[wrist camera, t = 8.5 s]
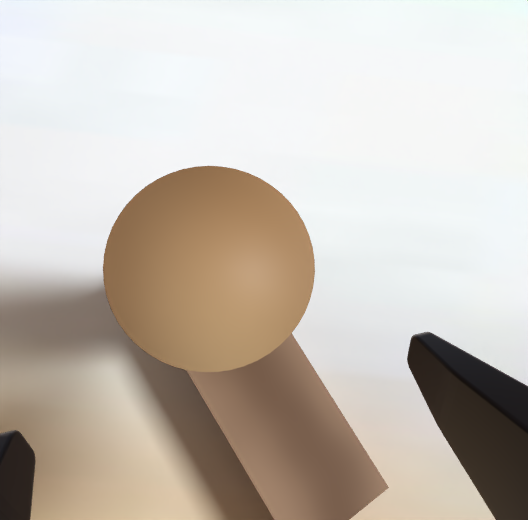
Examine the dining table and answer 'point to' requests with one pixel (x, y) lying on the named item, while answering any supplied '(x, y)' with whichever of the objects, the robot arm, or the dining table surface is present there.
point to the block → (291, 437)
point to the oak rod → (208, 269)
